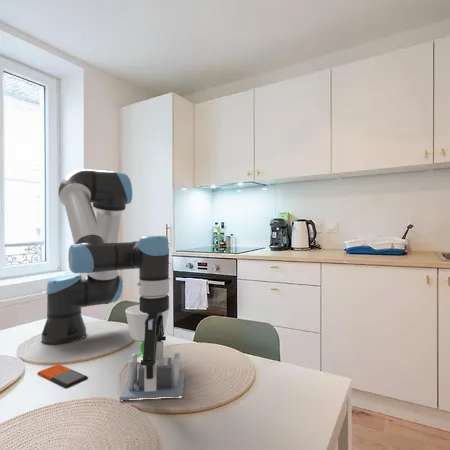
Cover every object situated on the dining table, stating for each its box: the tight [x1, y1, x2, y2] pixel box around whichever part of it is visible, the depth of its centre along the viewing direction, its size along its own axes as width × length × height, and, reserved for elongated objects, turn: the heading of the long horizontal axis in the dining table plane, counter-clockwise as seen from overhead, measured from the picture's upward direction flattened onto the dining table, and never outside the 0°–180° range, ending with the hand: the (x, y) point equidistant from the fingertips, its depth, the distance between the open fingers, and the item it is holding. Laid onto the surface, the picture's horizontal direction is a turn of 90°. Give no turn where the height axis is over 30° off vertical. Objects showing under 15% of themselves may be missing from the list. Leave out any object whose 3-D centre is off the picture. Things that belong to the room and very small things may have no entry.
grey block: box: [138, 357, 173, 391], centre depth 81 cm, size 6×8×6 cm
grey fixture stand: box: [119, 351, 186, 402], centre depth 81 cm, size 11×15×8 cm
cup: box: [124, 304, 170, 358], centre depth 100 cm, size 14×14×16 cm
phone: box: [37, 363, 89, 389], centre depth 88 cm, size 6×1×15 cm
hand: (154, 376), depth 81 cm, fingers open, 13 cm apart
